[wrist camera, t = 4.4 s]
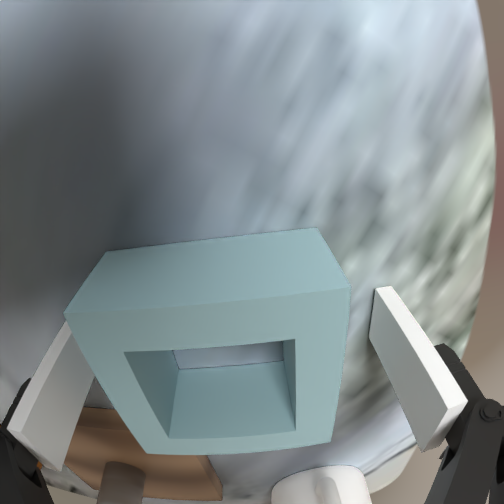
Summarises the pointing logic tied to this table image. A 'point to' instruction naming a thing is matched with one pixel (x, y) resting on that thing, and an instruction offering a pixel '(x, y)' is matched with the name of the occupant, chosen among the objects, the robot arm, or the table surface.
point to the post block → (134, 464)
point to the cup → (323, 487)
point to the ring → (218, 340)
